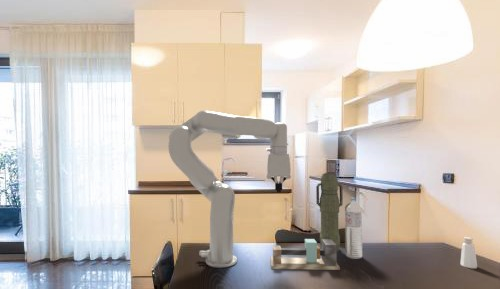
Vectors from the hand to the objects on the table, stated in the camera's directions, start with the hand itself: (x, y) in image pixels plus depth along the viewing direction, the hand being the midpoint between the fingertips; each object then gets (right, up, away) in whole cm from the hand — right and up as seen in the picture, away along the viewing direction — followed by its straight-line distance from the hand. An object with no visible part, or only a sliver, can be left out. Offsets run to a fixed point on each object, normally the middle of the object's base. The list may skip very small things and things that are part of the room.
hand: (278, 191), depth 121 cm
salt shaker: (+74, -27, -14) cm, 80 cm away
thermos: (+24, -28, +5) cm, 37 cm away
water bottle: (+32, -27, -4) cm, 42 cm away
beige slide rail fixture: (+9, -27, -13) cm, 31 cm away
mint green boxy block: (+11, -25, -13) cm, 30 cm away
